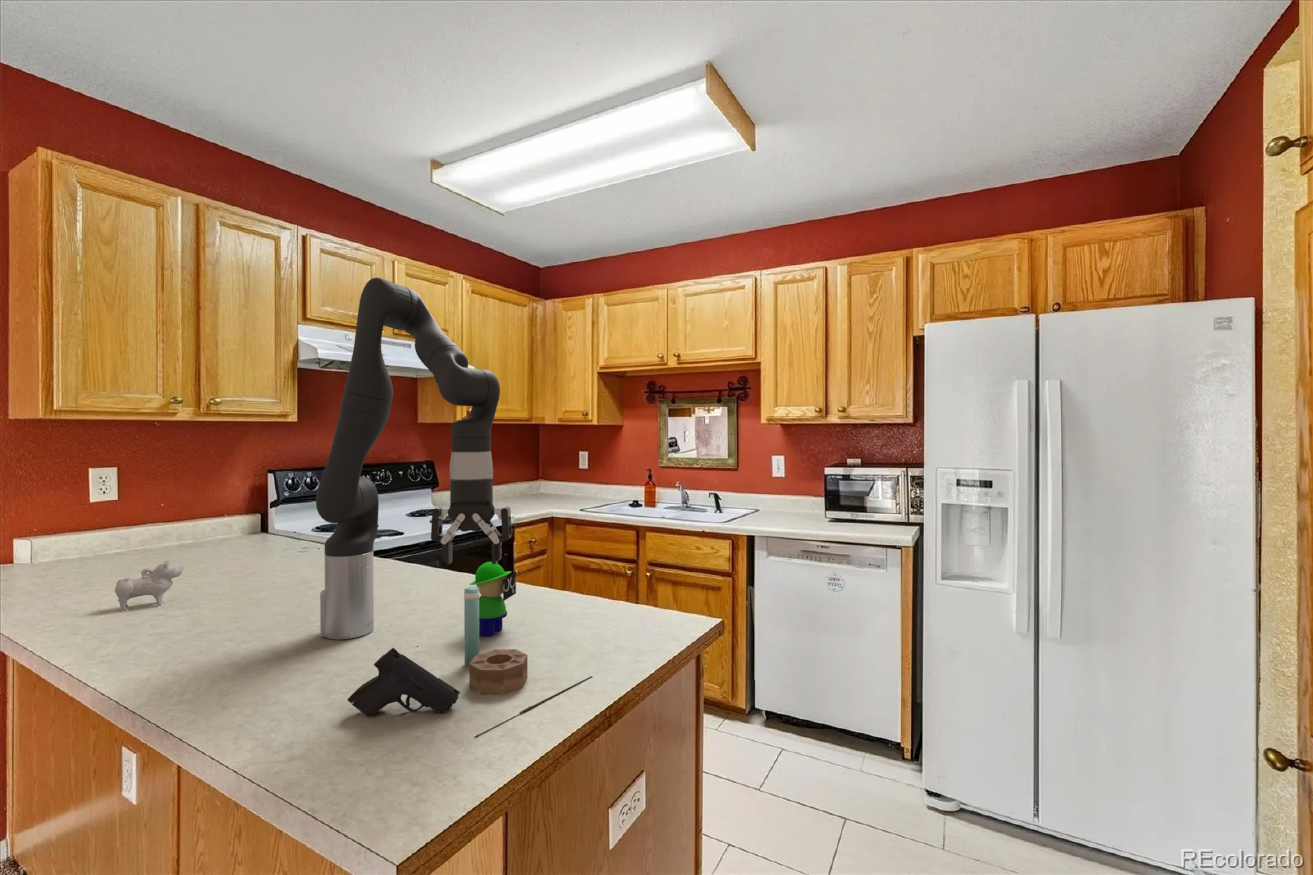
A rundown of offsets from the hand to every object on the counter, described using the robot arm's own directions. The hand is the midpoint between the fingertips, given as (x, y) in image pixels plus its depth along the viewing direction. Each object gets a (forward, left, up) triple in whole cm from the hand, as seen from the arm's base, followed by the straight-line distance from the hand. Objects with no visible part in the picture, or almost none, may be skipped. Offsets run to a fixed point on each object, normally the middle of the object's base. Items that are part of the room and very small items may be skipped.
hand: (472, 563), depth 107 cm
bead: (+7, -8, -19) cm, 21 cm away
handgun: (-5, -18, -19) cm, 27 cm away
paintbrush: (+15, -16, -19) cm, 29 cm away
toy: (-1, +17, -19) cm, 25 cm away
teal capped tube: (0, 0, -19) cm, 19 cm away
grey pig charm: (-90, +37, -19) cm, 99 cm away
